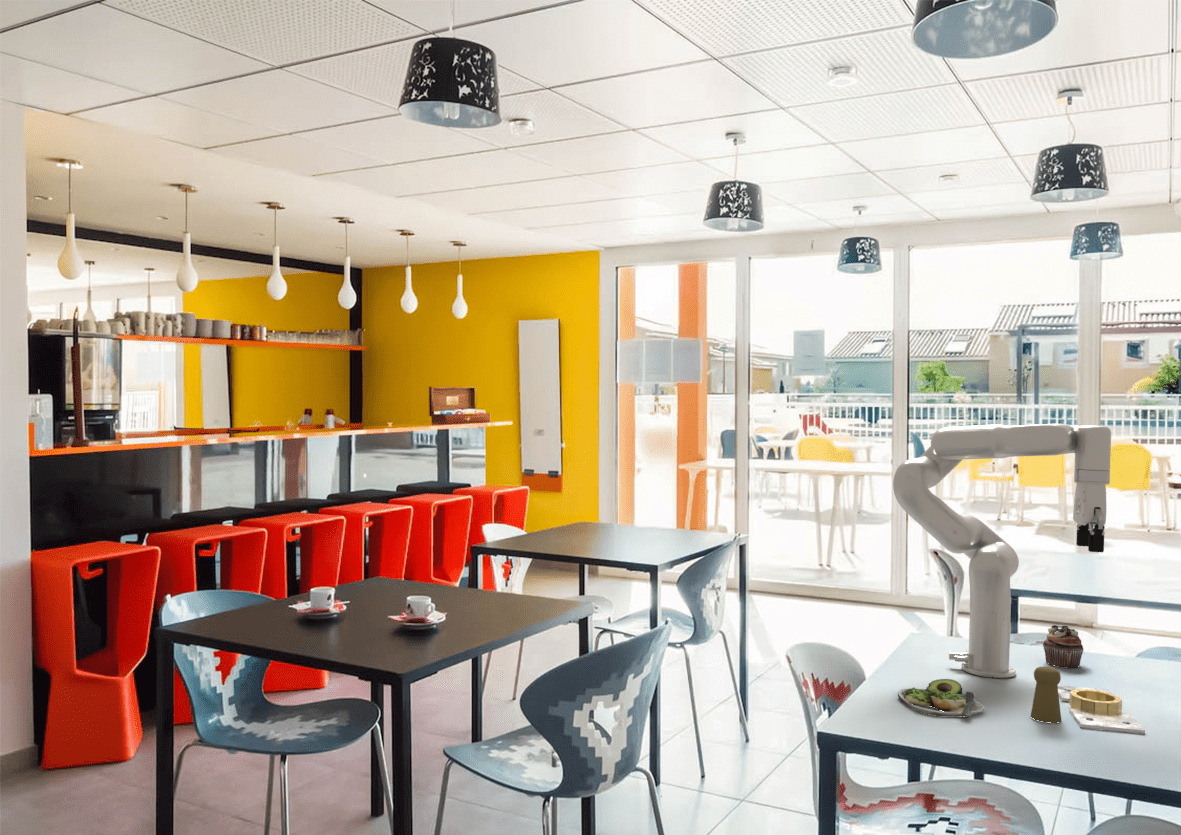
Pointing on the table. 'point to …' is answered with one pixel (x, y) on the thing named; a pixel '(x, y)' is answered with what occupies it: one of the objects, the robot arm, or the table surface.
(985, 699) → the table surface
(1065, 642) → the cupcake
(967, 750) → the table surface
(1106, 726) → the mounting plate with ring
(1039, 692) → the cork
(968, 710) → the avocado toast plate
